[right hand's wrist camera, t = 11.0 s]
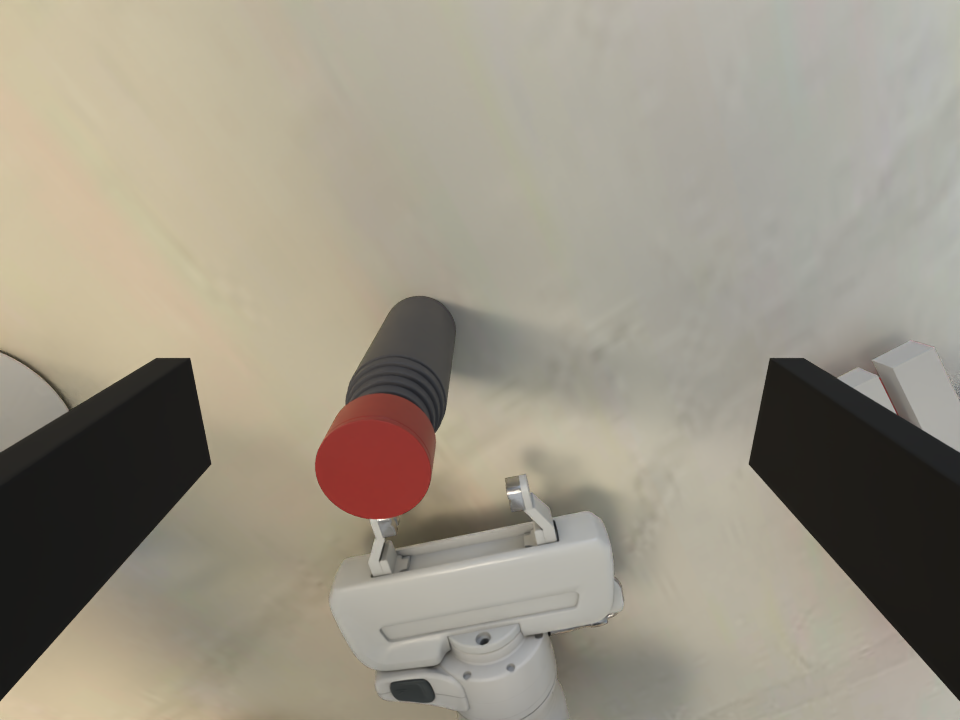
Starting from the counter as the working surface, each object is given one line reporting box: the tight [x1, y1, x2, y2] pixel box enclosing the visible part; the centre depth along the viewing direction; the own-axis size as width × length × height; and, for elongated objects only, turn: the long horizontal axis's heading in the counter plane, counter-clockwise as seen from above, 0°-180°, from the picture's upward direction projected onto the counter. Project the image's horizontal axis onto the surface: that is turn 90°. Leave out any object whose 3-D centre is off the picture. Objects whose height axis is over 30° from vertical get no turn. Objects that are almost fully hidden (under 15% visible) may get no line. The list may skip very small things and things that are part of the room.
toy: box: [837, 340, 960, 452], centre depth 39 cm, size 12×13×30 cm
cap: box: [315, 393, 436, 519], centre depth 23 cm, size 5×5×2 cm
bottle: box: [346, 296, 456, 433], centre depth 30 cm, size 5×5×18 cm
